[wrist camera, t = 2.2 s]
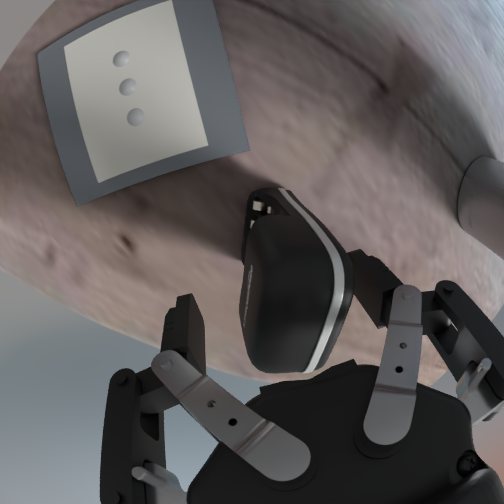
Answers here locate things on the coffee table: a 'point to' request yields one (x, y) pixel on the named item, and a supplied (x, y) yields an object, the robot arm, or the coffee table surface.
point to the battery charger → (291, 285)
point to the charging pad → (140, 95)
